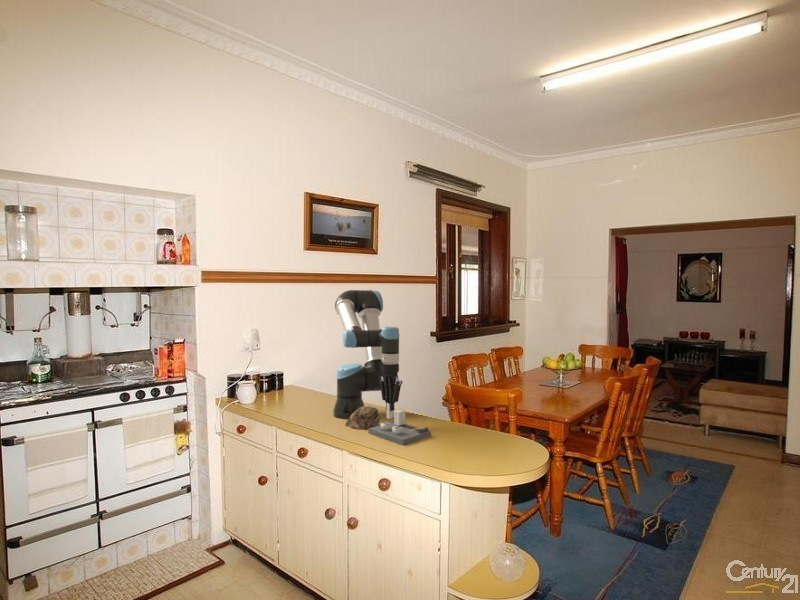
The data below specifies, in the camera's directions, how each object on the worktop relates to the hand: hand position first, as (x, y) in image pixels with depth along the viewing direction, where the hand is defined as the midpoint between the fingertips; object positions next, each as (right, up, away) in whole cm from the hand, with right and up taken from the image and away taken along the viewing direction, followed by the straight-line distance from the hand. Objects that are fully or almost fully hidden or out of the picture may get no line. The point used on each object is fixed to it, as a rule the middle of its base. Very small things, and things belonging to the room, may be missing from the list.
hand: (390, 417), depth 204 cm
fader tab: (+4, -2, -4) cm, 6 cm away
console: (+4, -4, -11) cm, 13 cm away
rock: (-12, -4, +1) cm, 13 cm away
